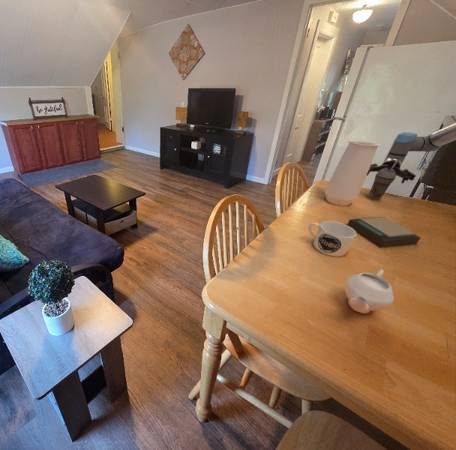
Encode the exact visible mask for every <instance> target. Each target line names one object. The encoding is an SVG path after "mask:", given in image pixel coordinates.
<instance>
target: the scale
mask: <svg viewBox="0 0 456 450" xmlns="http://www.w3.org/2000/svg"><path fill="white" fill-rule="evenodd" d="M346 225H347V226H349V227H351V228H352V229H354V230H355V231H356V234H359V235H360V236H362V237H364V238H365V239H366V240H368V241H369V242H371V243H372V244H374V245H375V246H377V247H379V248H381V249H382V248H391V247H401V246H402V247H403V246H413V245H417V244H418V243H419V241H420V240H421V236H419V235H417V234H416V233H415V232H413V231H412V230H409V229H408V228H406V227H405V226H402V225H400V224H398V223H397V222H394V221H392V220H391V219H389V218H387V217H385V216H375V217H364V218H363V217H361V218H350V219H349V220H348V222H347V224H346Z"/></svg>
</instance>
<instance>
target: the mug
mask: <svg viewBox="0 0 456 450" xmlns="http://www.w3.org/2000/svg"><path fill="white" fill-rule="evenodd" d="M313 226H316V227H317V228H318V229H317V231H316V234H314V232H313V230H312V227H313ZM308 232H309V234H310V235H311V237H312V238H313V239H314V240H313V243H312V244H313V247H314V248H315V249H316V250H317V251H319V252H320V253H322V254H324V255H327V256H331V257H342V256H344V255H346V253H347V252H348V250H349V249H350V247H351V245H352V244H353V242H354V240H355V239H356V237H357V234H358V233H357V232H356V231H355V230H354V229H352V228H351V227H349V226H347V224H344V223H341V222H338V221H333V220H325V221H322V222H320V223H318V222H311V223H310V224H309V225H308Z"/></svg>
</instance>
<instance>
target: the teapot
mask: <svg viewBox="0 0 456 450" xmlns="http://www.w3.org/2000/svg"><path fill="white" fill-rule="evenodd" d="M384 273H385V270H384V269H382V268H381V269H379V270H378V271H377V272H376V273H373V272H359V273H355V274H353V275H350V276H348V278H347V279H346V281H345V283H344V292H345V296H346V297H347V300H348V301H347V304H348V306H349V307H350V308H351V309H352V310H353V311H355V312H357V313H361V314H369V313H370V312H371V311H381V310H384V309H386V308H388V307H389V306H391V305H392V304H393V302H394V299H395V295H394V290H393V288H392V285H391V283H389V282H388V280H386V279H385V278H384V277H383V275H384Z"/></svg>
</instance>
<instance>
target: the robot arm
mask: <svg viewBox="0 0 456 450" xmlns="http://www.w3.org/2000/svg"><path fill="white" fill-rule="evenodd" d="M454 141H456V122H455V123H453V124H451V125H448V126H446V127H444V128H442V129H439V130H437V131H435V132H433V133H431V134H428V135H426V136H425V135H424V136H418V133H415V132H412V131H411V132H408V131H400V132H399V133H398V134H397V136H396V137H395V138H394V141H393V143H392V144H391V147H390V149H389V151H388V153H387V154H386V157H385V158H384V160H383V162H382V164H381V165H378V163H376V162H375V163H371V165H370V168H369V171H368V173H367V176H369V175H370V173H374V172H375V173H378V172H379V171H380V170H381V169H384V168H392V166H393V165H394V164H395V162H396V161H397V159H398V162H397V163H396V165H395V166H394V167H393V170H395V172H396V177H399V178H402V179H401V184H404V183H405V182H408V181H414V180H415V178H416V177H417V175H416V174H415V173H413V172H411V171H409V169H407V168H405V169H401V167H402V164H403V162H404V161H405V159H406V157H407V156H408V153H409V152H423V153H429V152H435V151H438V150H440V149H441V148H442V147H443V146H444V145H446V144H449V143H452V142H454ZM367 176H366V177H367Z"/></svg>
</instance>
